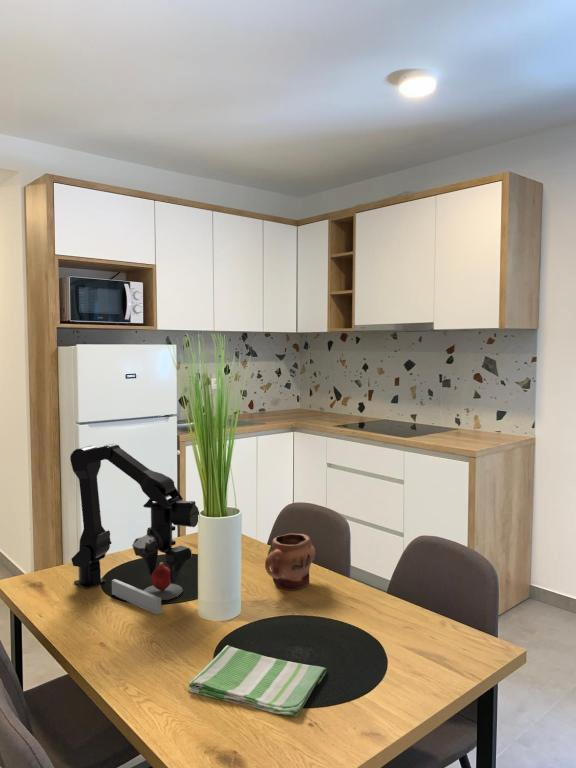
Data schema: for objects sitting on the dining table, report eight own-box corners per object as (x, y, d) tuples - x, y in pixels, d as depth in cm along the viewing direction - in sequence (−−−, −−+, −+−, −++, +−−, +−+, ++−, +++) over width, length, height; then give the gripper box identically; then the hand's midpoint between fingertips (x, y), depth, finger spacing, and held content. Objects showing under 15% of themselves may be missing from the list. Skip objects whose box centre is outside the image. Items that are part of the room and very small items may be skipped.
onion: (170, 594, 165) (169, 565, 165) (149, 595, 165) (148, 566, 165) (174, 586, 171) (173, 558, 171) (154, 587, 171) (153, 559, 171)
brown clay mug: (287, 603, 161) (287, 552, 160) (250, 593, 168) (250, 544, 167) (324, 579, 178) (324, 532, 177) (289, 571, 184) (289, 526, 184)
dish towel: (296, 722, 111) (296, 708, 111) (185, 696, 119) (185, 682, 119) (326, 673, 127) (326, 661, 127) (227, 653, 136) (227, 641, 136)
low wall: (111, 594, 167) (111, 580, 167) (115, 593, 168) (115, 578, 168) (157, 614, 154) (157, 599, 154) (161, 613, 155) (160, 598, 155)
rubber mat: (134, 594, 167) (134, 592, 167) (165, 582, 176) (165, 580, 176) (159, 604, 160) (159, 602, 160) (190, 591, 169) (190, 590, 169)
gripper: (116, 523, 167) (117, 579, 168) (159, 537, 155) (160, 597, 156) (149, 515, 175) (150, 567, 176) (192, 527, 163) (193, 583, 164)
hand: (162, 578), depth 168 cm, fingers open, 9 cm apart
